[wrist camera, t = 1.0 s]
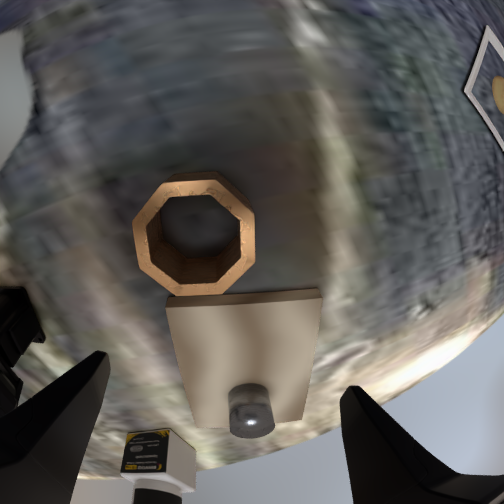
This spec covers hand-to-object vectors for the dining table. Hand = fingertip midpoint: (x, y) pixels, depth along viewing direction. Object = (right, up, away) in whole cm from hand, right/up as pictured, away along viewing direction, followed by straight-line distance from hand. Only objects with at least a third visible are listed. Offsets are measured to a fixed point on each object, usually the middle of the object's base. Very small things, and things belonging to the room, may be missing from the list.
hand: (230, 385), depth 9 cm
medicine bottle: (-12, -21, +22) cm, 32 cm away
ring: (-3, +7, +11) cm, 13 cm away
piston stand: (0, -6, +16) cm, 18 cm away
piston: (0, -9, +16) cm, 19 cm away
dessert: (+28, +22, +8) cm, 36 cm away
